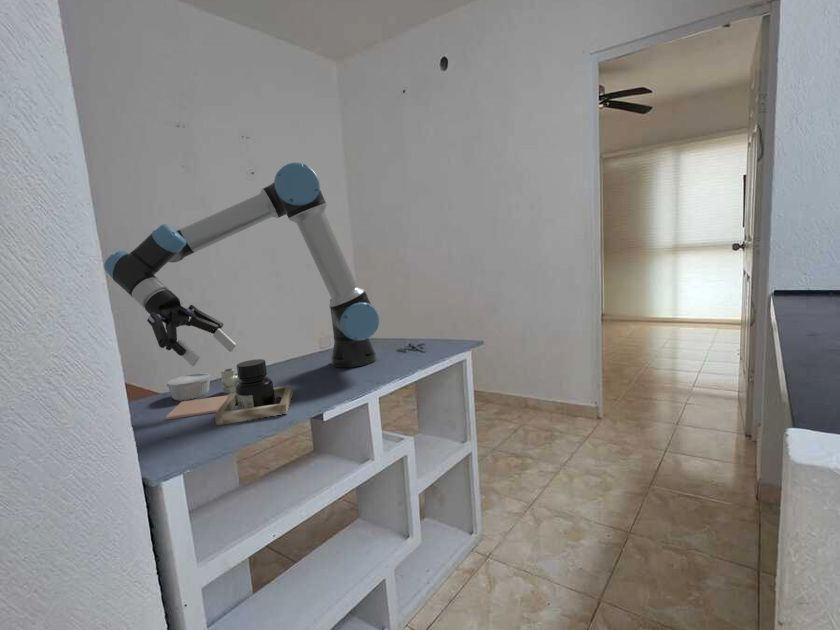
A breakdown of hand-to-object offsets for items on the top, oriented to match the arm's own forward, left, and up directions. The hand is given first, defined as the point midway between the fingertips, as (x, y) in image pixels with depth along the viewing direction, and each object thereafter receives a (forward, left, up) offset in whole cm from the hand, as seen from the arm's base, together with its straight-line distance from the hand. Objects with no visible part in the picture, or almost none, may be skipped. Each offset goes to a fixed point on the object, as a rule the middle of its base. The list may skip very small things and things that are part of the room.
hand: (216, 354), depth 110 cm
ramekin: (+13, -17, -15) cm, 26 cm away
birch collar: (-9, +4, -14) cm, 17 cm away
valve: (-1, -18, -15) cm, 23 cm away
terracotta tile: (+7, -4, -14) cm, 17 cm away
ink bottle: (-9, +4, -15) cm, 17 cm away
